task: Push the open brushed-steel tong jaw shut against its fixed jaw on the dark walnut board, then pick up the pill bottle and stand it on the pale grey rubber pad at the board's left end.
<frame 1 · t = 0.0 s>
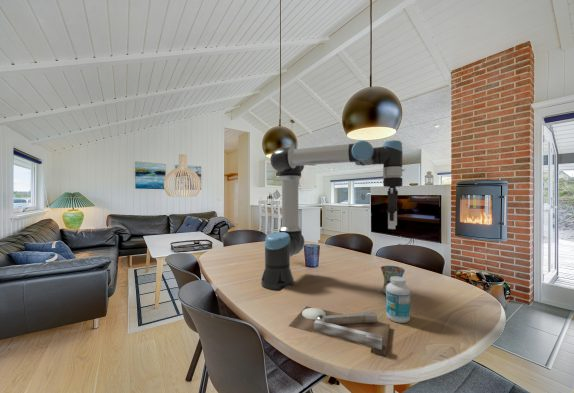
hand: (392, 227, 104), 28 cm above the table, fingers open, 13 cm apart
mug: (392, 292, 104), on the table
rest pad: (313, 314, 82), resting on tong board
pill bottle: (397, 318, 82), on the table
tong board: (339, 328, 75), on the table
tong jaw: (346, 318, 76), point 3 cm above the table, hinge at 35.0°
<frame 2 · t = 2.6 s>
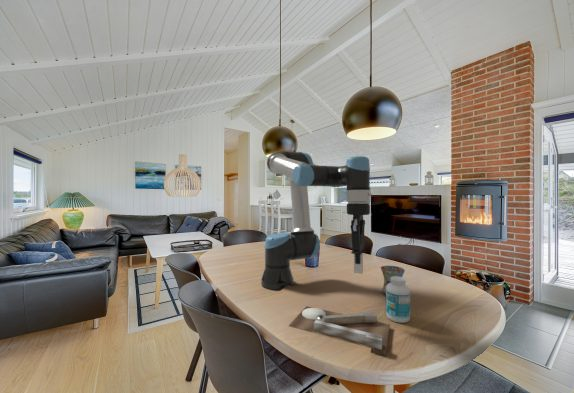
hand: (358, 272, 82), 15 cm above the table, fingers closed
nothing on the table moved.
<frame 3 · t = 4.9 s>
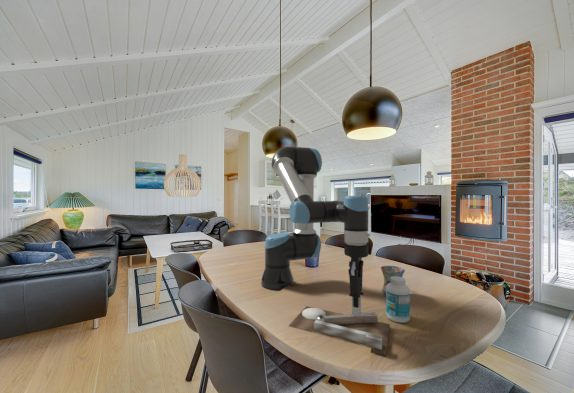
hand: (356, 315, 79), 2 cm above the table, fingers closed
tong jaw: (346, 318, 76), point 3 cm above the table, hinge at 34.2°, touching gripper
everything else where it was.
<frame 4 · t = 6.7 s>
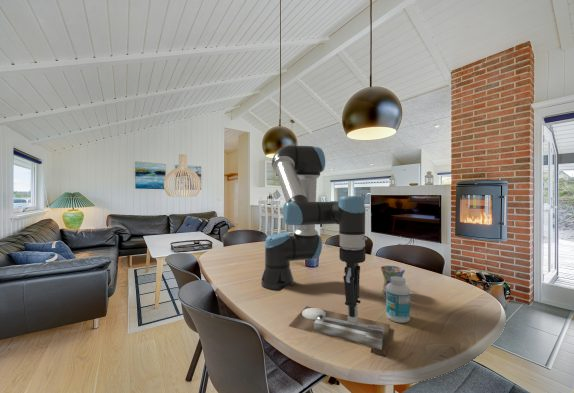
hand: (352, 325, 73), 2 cm above the table, fingers closed
tong jaw: (348, 325, 72), point 3 cm above the table, hinge at 4.9°, touching gripper
everything else where it was.
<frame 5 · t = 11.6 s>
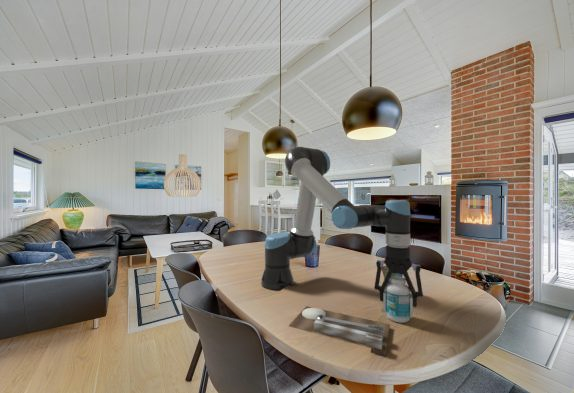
hand: (397, 313, 82), 2 cm above the table, fingers closed on pill bottle, 7 cm apart
pill bottle: (397, 318, 82), on the table, touching gripper
tong jaw: (348, 325, 72), point 3 cm above the table, hinge at 4.9°
everything else where it was.
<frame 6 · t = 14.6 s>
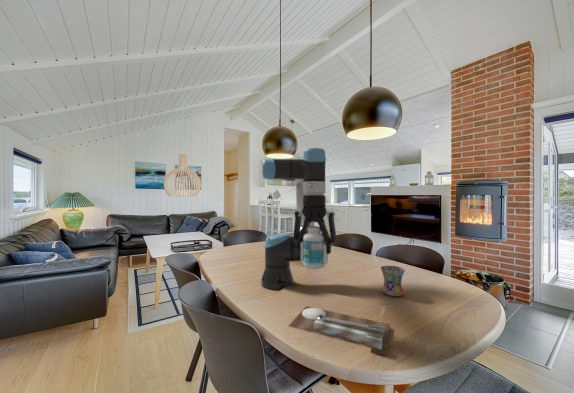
hand: (314, 261, 82), 19 cm above the table, fingers closed on pill bottle, 7 cm apart
pill bottle: (314, 267, 82), point 17 cm above the table, touching gripper
everything else where it was.
when the fingers open (5 cm above the table, at t = 17.7 s): pill bottle drops 1 cm, resting on rest pad.
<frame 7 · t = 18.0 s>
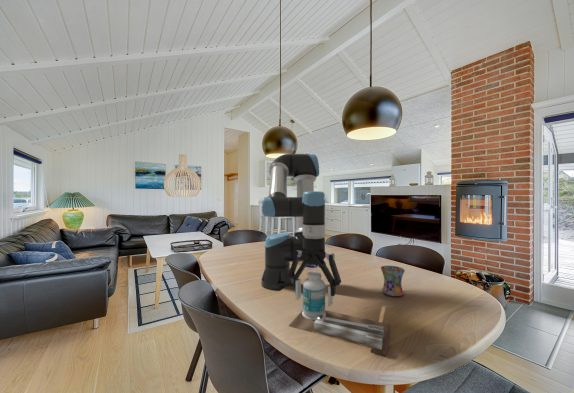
hand: (313, 301, 82), 5 cm above the table, fingers open, 11 cm apart
pill bottle: (313, 313, 82), point 1 cm above the table, touching rest pad
everything else where it was.
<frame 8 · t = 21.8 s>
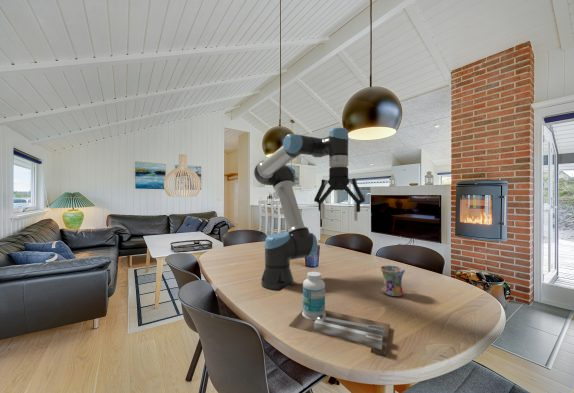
hand: (338, 219, 98), 32 cm above the table, fingers open, 13 cm apart
nothing on the table moved.
at the end: tong jaw at +5° (first picture: +35°); pill bottle 0.0 cm from the rest pad (horizontally); pill bottle tilted 0° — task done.
